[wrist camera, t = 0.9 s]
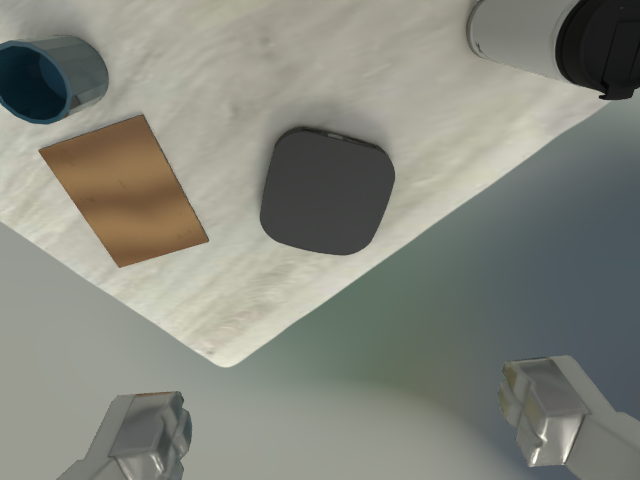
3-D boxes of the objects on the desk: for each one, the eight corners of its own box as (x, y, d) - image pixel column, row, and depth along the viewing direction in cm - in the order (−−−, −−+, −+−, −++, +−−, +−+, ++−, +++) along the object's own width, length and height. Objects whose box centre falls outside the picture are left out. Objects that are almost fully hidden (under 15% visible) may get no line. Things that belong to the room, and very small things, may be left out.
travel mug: (461, 64, 43) (569, 104, 26) (470, -9, 39) (602, -19, 22) (519, 61, 43) (665, 99, 26) (533, -12, 40) (713, -24, 22)
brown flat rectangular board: (39, 149, 45) (37, 150, 45) (143, 114, 44) (141, 115, 44) (120, 266, 54) (119, 268, 54) (209, 240, 52) (208, 241, 52)
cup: (24, 47, 40) (-33, 56, 33) (84, 25, 39) (38, 29, 33) (65, 113, 44) (21, 133, 37) (121, 93, 43) (87, 111, 36)
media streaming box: (255, 228, 52) (253, 240, 49) (279, 118, 45) (278, 125, 42) (362, 251, 54) (365, 263, 52) (400, 149, 47) (406, 158, 45)
